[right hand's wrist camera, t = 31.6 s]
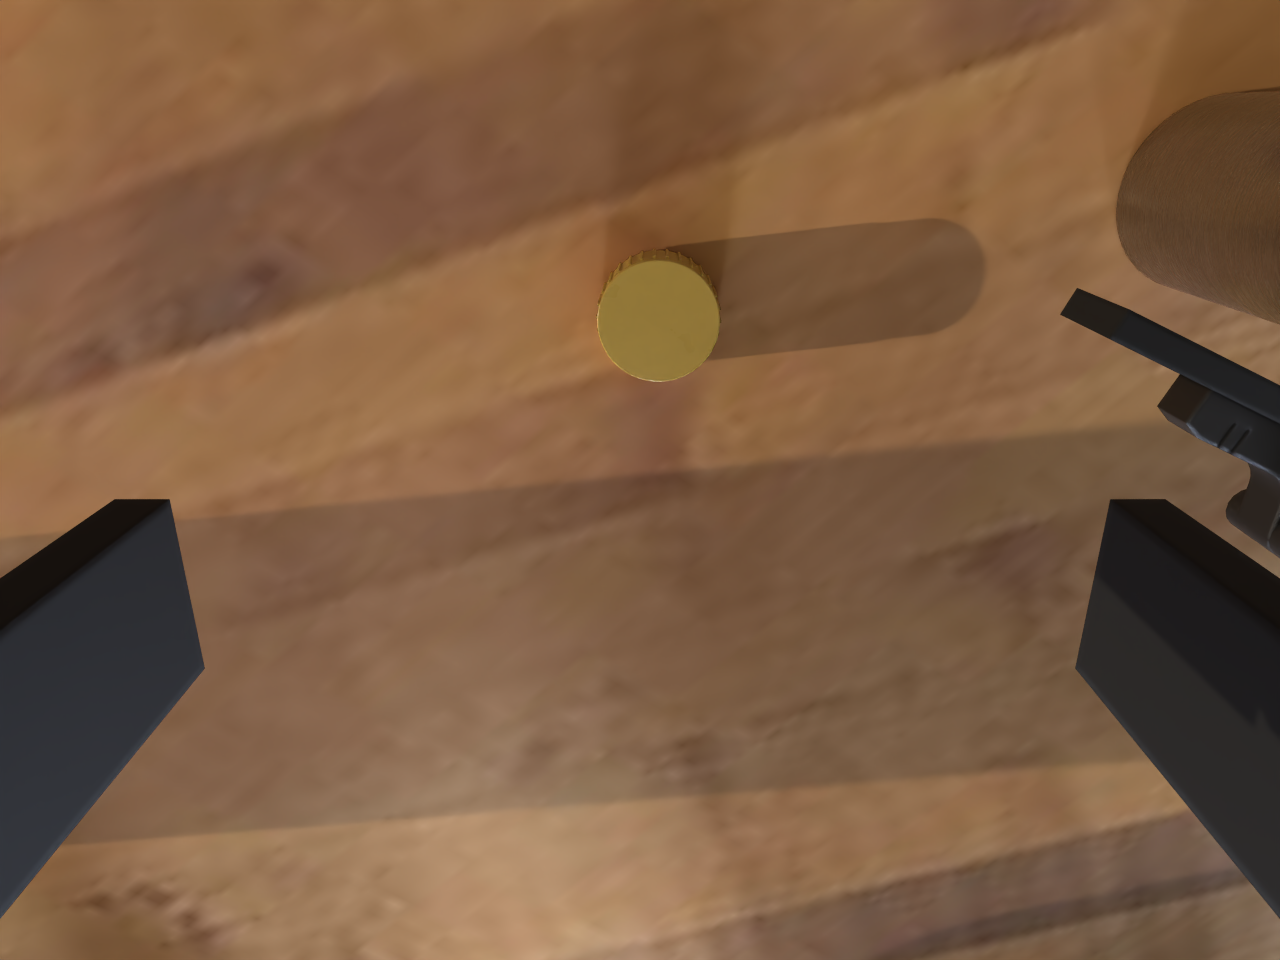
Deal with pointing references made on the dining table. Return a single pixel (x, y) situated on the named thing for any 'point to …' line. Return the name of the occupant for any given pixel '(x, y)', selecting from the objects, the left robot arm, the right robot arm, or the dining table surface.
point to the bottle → (1210, 203)
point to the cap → (658, 316)
